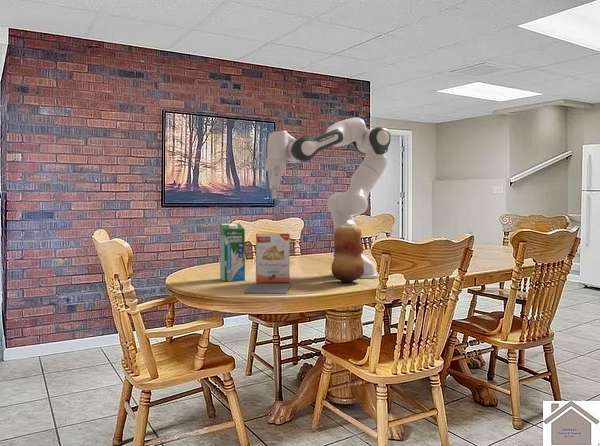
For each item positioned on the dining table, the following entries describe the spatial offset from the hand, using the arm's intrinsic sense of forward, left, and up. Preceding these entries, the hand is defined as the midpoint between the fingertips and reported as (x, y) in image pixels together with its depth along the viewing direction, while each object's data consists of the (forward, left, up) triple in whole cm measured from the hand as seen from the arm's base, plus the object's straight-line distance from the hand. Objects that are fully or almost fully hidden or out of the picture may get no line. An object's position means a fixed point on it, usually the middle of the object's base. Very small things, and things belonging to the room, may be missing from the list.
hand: (273, 198), depth 217 cm
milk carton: (+19, -2, -36) cm, 41 cm away
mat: (0, +20, -36) cm, 41 cm away
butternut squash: (-32, +3, -36) cm, 48 cm away
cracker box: (0, +6, -36) cm, 36 cm away
